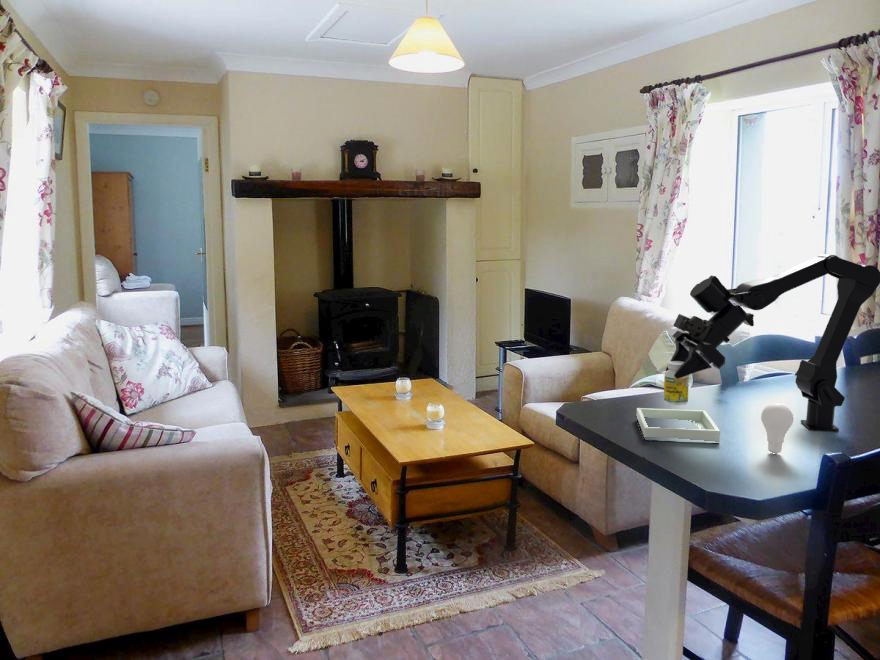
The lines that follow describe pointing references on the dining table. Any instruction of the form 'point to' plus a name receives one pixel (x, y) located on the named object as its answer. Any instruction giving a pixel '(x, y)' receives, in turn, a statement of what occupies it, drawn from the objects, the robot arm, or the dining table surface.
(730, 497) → the dining table surface
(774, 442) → the lightbulb
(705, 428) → the bin
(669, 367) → the supplement bottle
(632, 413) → the dining table surface
